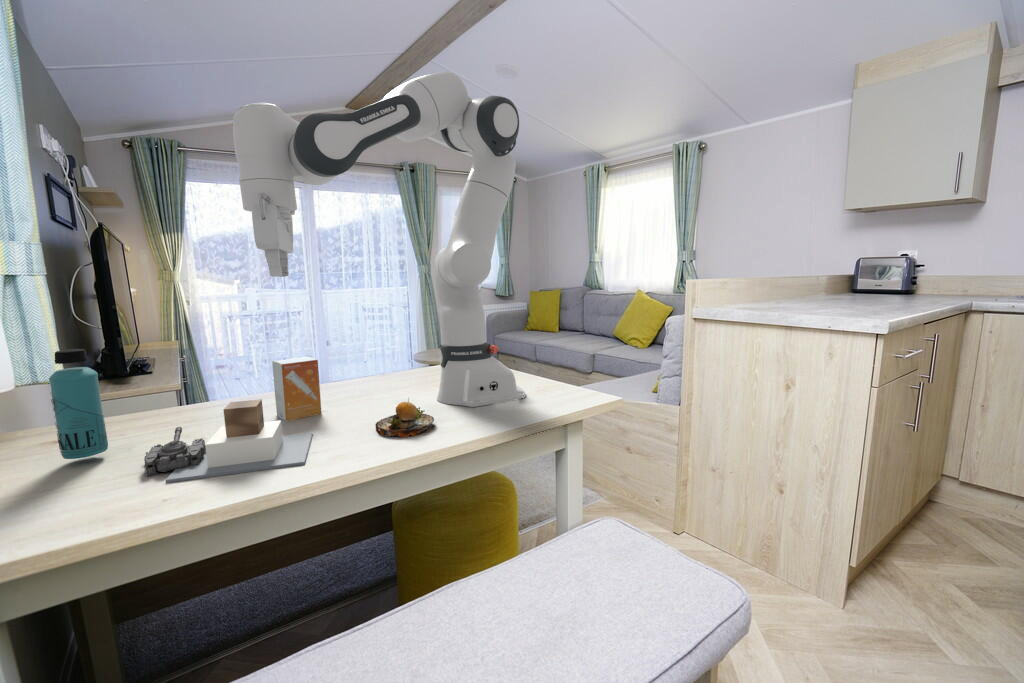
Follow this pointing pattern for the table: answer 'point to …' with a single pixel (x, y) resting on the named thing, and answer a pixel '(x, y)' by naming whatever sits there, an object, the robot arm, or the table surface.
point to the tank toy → (174, 455)
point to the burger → (405, 422)
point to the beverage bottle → (77, 407)
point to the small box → (296, 388)
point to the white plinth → (244, 446)
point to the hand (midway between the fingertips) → (280, 276)
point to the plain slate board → (288, 455)
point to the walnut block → (243, 418)
